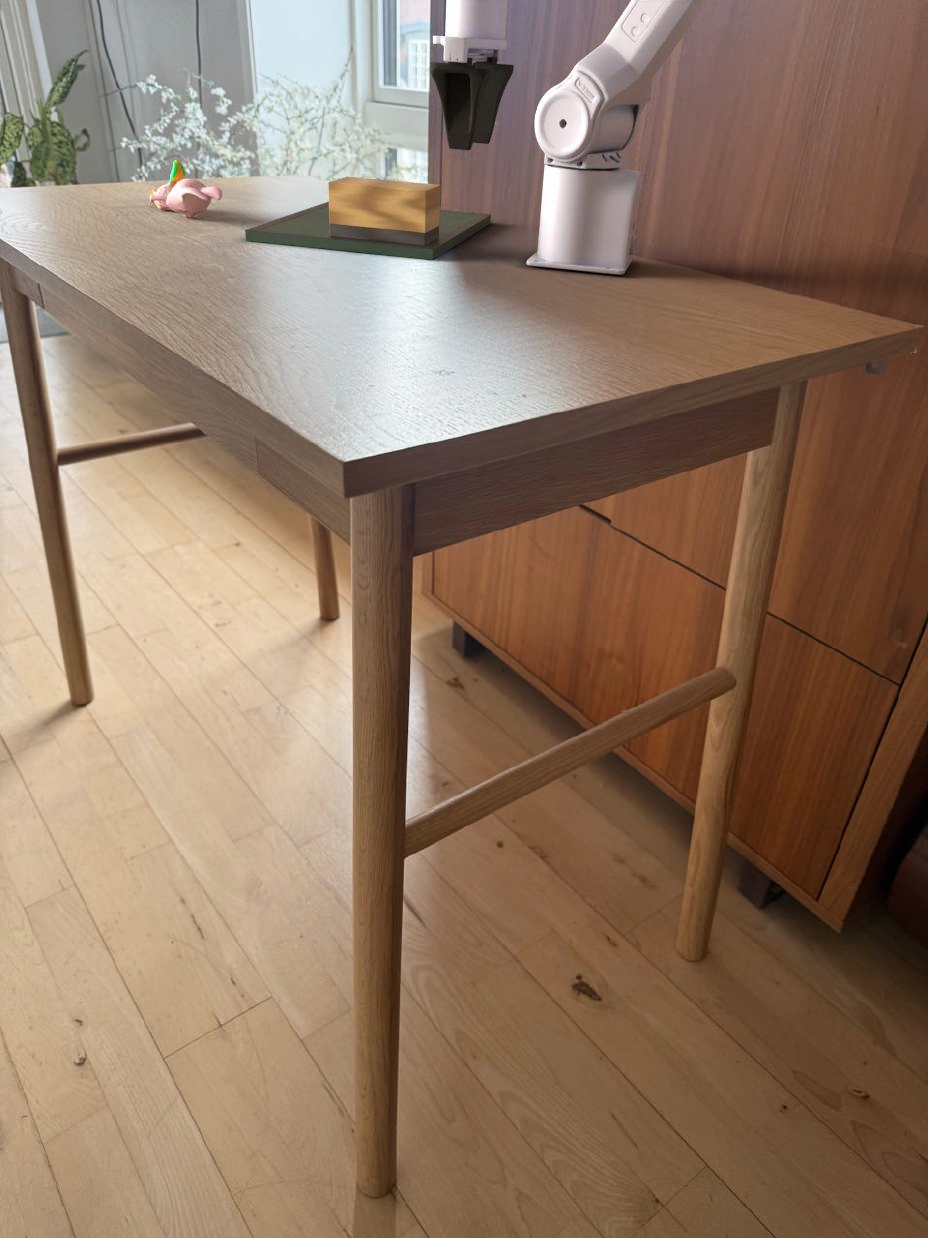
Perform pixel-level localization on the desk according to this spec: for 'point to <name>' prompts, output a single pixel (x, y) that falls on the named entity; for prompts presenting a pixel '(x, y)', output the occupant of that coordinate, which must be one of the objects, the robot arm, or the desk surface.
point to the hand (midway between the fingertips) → (469, 145)
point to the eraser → (384, 210)
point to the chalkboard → (315, 233)
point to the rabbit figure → (184, 194)
